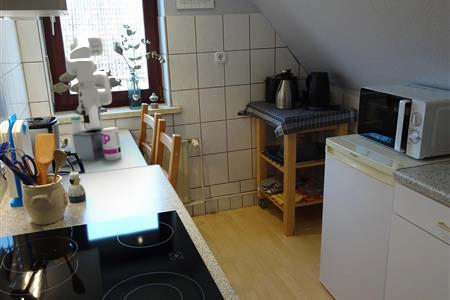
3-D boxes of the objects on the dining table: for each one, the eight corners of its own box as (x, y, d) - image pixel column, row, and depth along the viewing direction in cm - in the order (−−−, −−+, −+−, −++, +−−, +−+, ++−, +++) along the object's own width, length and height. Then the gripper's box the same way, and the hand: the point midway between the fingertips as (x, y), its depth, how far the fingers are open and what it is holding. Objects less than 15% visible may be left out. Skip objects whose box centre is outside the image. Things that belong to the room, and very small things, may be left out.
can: (102, 126, 202) (99, 102, 199) (95, 128, 195) (92, 104, 192) (90, 126, 203) (87, 103, 200) (83, 129, 197) (80, 104, 194)
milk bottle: (86, 155, 205) (80, 117, 200) (71, 156, 205) (65, 118, 200) (91, 152, 212) (85, 114, 208) (77, 152, 213) (71, 115, 208)
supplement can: (111, 161, 191) (107, 130, 187) (101, 159, 196) (96, 129, 192) (125, 157, 197) (121, 127, 193) (114, 155, 202) (110, 126, 198)
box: (76, 159, 198) (72, 134, 195) (99, 151, 212) (96, 127, 209) (94, 161, 193) (90, 134, 190) (117, 153, 207) (113, 128, 204)
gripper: (78, 87, 185) (84, 125, 189) (105, 83, 200) (110, 118, 204) (67, 87, 188) (73, 124, 193) (94, 83, 203) (99, 118, 207)
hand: (92, 121), depth 198 cm, fingers closed on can, 6 cm apart
